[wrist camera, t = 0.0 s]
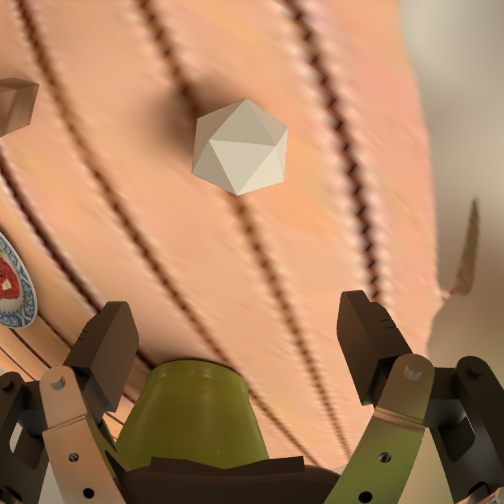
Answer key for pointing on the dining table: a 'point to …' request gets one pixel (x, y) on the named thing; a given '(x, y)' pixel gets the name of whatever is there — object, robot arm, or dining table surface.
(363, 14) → the dining table surface
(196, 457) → the plant pot
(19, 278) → the ceramic plate
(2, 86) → the walnut block
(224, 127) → the die
